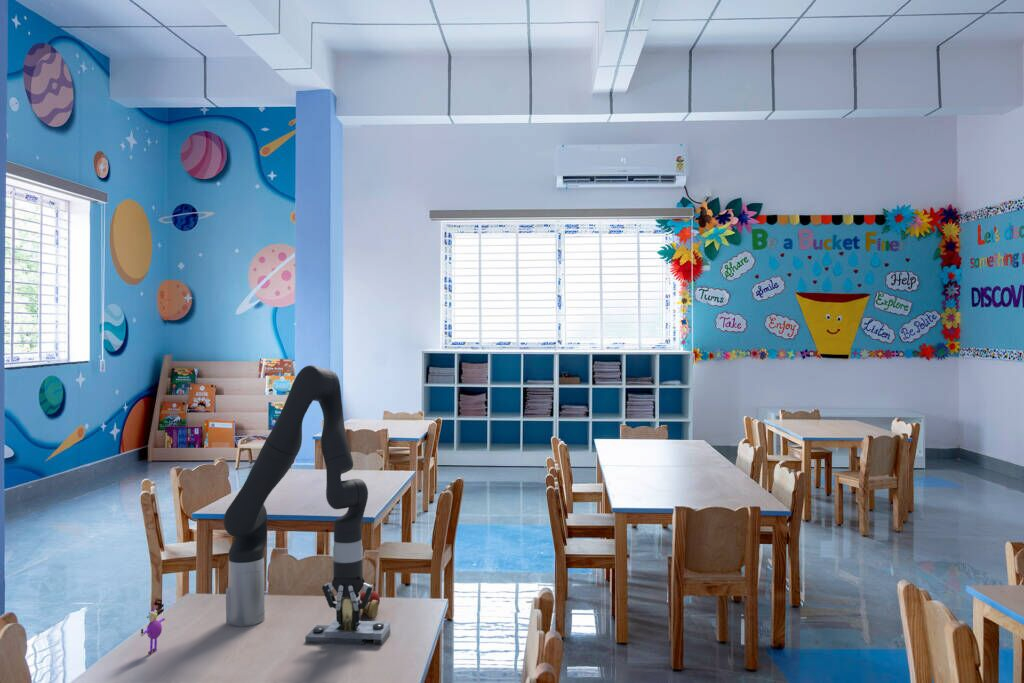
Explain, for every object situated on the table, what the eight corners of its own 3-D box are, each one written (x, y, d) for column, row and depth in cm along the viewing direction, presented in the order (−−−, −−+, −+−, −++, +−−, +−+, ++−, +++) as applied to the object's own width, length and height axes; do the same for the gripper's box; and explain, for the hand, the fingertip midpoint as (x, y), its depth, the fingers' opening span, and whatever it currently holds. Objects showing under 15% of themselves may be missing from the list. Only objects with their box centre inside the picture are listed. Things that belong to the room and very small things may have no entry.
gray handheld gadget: (305, 642, 196) (305, 628, 196) (317, 630, 204) (316, 617, 204) (381, 645, 194) (381, 631, 194) (390, 633, 202) (390, 619, 202)
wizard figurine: (159, 643, 196) (159, 596, 196) (171, 643, 196) (171, 596, 196) (135, 662, 185) (135, 612, 185) (148, 662, 185) (148, 612, 185)
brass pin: (340, 630, 198) (339, 599, 198) (344, 625, 201) (344, 594, 201) (352, 630, 197) (352, 599, 197) (357, 625, 201) (356, 595, 200)
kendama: (366, 636, 203) (388, 604, 221) (360, 614, 203) (383, 583, 220) (339, 640, 205) (363, 607, 222) (333, 618, 204) (357, 586, 222)
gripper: (316, 560, 196) (317, 628, 196) (370, 562, 194) (370, 630, 194) (326, 552, 204) (327, 617, 204) (378, 553, 202) (379, 619, 202)
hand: (348, 623), depth 199 cm, fingers closed on brass pin, 3 cm apart
